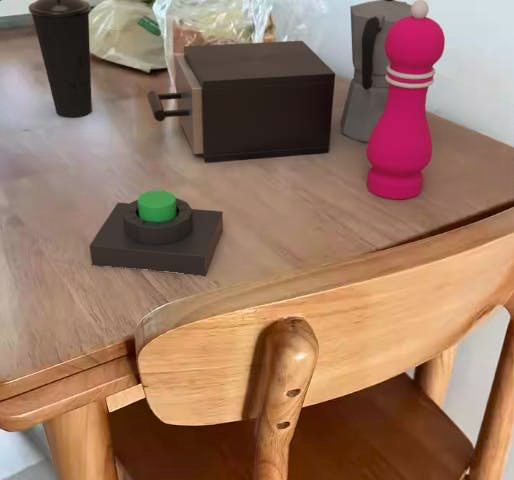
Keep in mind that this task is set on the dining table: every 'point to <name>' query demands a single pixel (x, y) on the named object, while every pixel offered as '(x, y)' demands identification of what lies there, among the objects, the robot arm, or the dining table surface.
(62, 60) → the drinking cup
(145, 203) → the button
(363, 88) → the coffeepot
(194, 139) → the drawer
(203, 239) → the control block
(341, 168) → the dining table surface
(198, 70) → the cabinet
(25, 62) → the dining table surface
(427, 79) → the pepper mill
